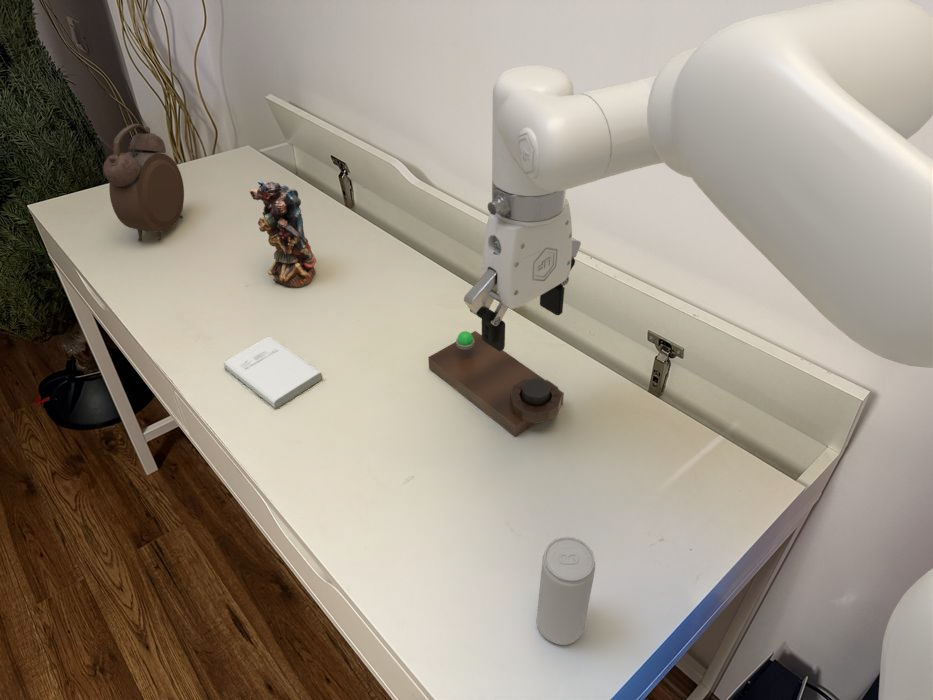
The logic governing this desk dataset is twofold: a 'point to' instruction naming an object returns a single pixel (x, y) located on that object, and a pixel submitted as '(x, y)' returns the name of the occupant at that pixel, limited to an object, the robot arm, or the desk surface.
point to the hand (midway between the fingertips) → (522, 326)
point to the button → (535, 392)
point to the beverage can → (565, 590)
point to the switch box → (494, 384)
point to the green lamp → (465, 340)
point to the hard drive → (273, 371)
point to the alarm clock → (144, 183)
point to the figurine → (285, 234)
